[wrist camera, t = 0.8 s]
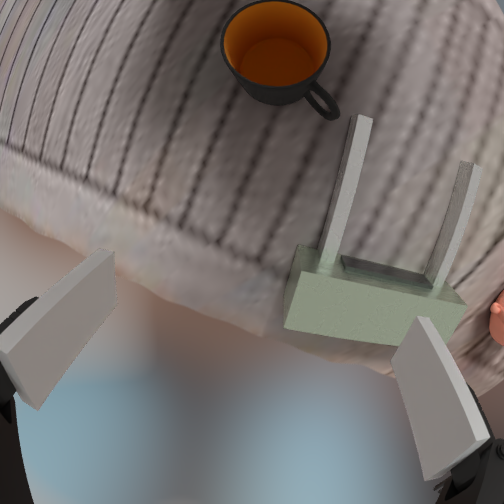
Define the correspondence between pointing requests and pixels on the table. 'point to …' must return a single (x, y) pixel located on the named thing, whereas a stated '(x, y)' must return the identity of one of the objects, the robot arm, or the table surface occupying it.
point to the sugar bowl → (497, 319)
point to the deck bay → (375, 268)
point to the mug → (278, 53)
